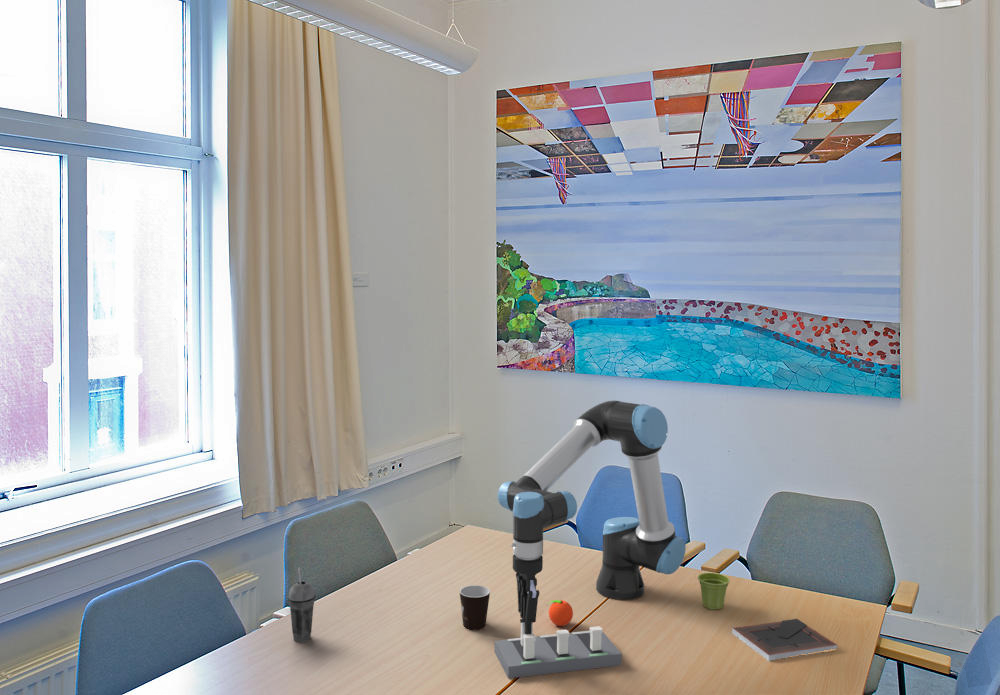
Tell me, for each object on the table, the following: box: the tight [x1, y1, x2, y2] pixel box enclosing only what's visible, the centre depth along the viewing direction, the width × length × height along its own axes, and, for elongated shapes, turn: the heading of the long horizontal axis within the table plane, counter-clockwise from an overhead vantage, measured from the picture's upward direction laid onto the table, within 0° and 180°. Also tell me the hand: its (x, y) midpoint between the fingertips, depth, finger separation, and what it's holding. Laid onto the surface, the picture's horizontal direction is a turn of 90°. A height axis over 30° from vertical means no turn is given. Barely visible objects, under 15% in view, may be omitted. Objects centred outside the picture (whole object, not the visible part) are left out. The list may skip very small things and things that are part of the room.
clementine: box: [547, 599, 574, 627], centre depth 221 cm, size 8×7×7 cm
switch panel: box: [493, 630, 623, 679], centre depth 201 cm, size 30×14×3 cm, turn 105°
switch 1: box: [523, 633, 537, 659], centre depth 194 cm, size 3×2×6 cm
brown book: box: [731, 618, 838, 662], centre depth 213 cm, size 16×2×22 cm
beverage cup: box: [287, 567, 316, 643], centre depth 210 cm, size 7×7×20 cm
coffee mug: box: [459, 584, 491, 631], centre depth 221 cm, size 12×9×10 cm
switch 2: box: [588, 625, 604, 651], centre depth 199 cm, size 3×2×6 cm
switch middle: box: [555, 629, 570, 655], centre depth 197 cm, size 3×2×6 cm
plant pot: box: [697, 572, 731, 611], centre depth 236 cm, size 9×9×9 cm
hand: (526, 644), depth 197 cm, fingers closed
